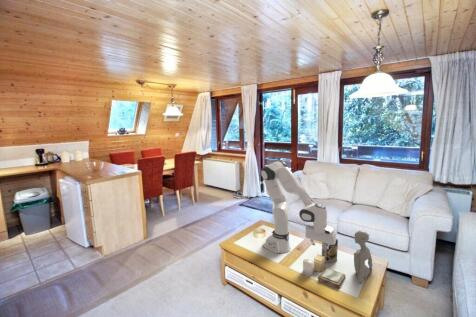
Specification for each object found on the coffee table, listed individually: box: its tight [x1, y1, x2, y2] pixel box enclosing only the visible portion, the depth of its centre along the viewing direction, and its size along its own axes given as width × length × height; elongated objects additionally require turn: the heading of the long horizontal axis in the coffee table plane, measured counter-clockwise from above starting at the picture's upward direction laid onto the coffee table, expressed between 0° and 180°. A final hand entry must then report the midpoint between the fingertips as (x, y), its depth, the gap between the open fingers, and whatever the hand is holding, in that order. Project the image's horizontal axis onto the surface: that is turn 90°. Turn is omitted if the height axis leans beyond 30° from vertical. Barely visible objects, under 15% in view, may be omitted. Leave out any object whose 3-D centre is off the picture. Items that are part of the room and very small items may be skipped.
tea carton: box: [313, 253, 326, 273], centre depth 167 cm, size 5×7×8 cm
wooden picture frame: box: [317, 267, 346, 289], centre depth 156 cm, size 13×13×3 cm
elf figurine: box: [353, 230, 373, 285], centre depth 159 cm, size 22×10×30 cm, turn 135°
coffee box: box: [321, 238, 339, 263], centre depth 177 cm, size 9×6×16 cm
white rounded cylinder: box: [302, 258, 315, 277], centre depth 163 cm, size 7×7×8 cm
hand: (320, 246), depth 165 cm, fingers open, 8 cm apart
